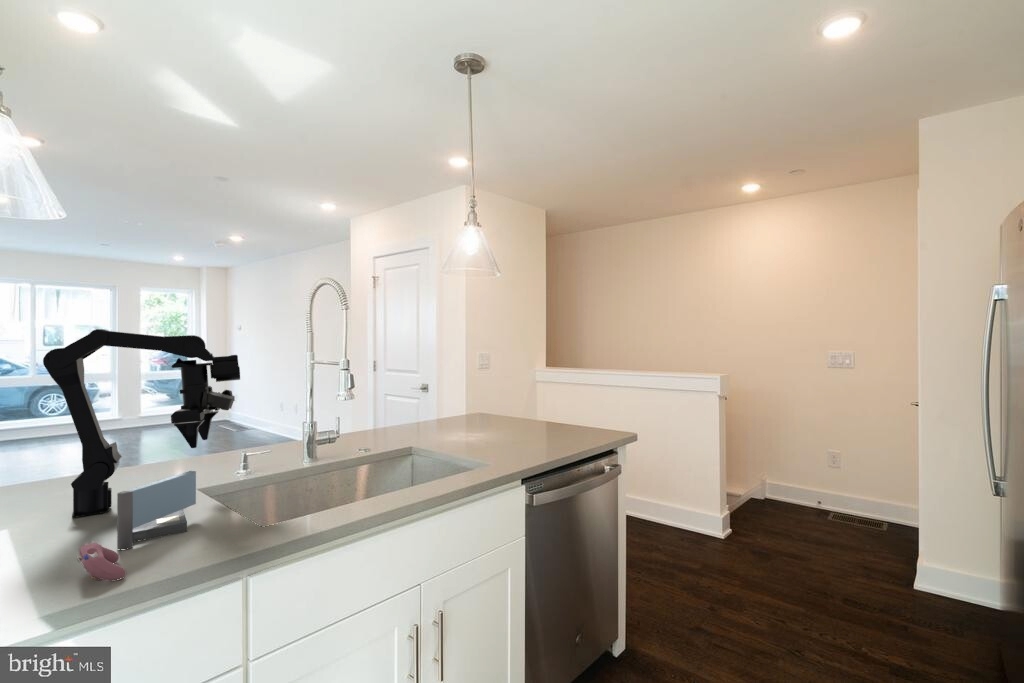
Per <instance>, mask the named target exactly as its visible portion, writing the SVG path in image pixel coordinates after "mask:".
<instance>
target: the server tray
mask: <svg viewBox="0 0 1024 683" xmlns="http://www.w3.org/2000/svg"><path fill="white" fill-rule="evenodd" d="M184 510H185V509H182V510H179V511H177V512H174V513H171V514H169V515H166V516H164V517H161V518H159V519H156V520H154V521H151V522H149V523H146V524H143V525H141V526H138V527H136V528H133V541H136V542H139V541H138V540H141V541H145V540H144V539H146V540H150V538H151V539H157V538H162V537H166V536H167V537H168V536H170V535H171V536H172V535H176V534H181V533H187V532H188V520H187V517H186V514H185V511H184ZM161 536H162V537H161ZM156 537H157V538H156Z"/></svg>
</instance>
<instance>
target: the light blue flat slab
mask: <svg viewBox="0 0 1024 683" xmlns="http://www.w3.org/2000/svg"><path fill="white" fill-rule="evenodd" d="M116 499H117V500H116V501H117V504H116V505H117V506H116V507H117V508H116V510H117V515H116V516H117V517H116V518H117V519H116V521H117V522H116V523H117V524H116V525H117V526H116V527H117V531H116V532H117V537H116V540H117V541H116V548H117V549H120V550H119V551H122V550H121V549H126V550H128V549H127V548H130V547H132V546H134V544H133V543H134V542H133V528H136V527H138V526H141V525H143V524H146V523H149V522H151V521H154V520H156V519H159V518H161V517H164V516H166V515H169V514H171V513H174V512H177V511H179V510H182V509H183V510H185V509H186V508H189V507H191V506H194V505H196V504H197V470H195V471H194V470H189V471H188V470H187V471H186V472H182V473H179V474H176V475H173V476H168V477H166V478H163V479H159V480H157V481H153V482H150V483H147V484H144V485H140V486H138V487H134V488H131V489H127V490H122V491H119V492H117V494H116ZM132 548H133V547H132ZM130 549H131V548H130Z"/></svg>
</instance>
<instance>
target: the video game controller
mask: <svg viewBox="0 0 1024 683" xmlns="http://www.w3.org/2000/svg"><path fill="white" fill-rule="evenodd" d="M78 551H79V556H77V560H78V561H79V562H80V563H82V566H83V569H84V570H85V571H86V573H88V574H89V576H90V578H91V579H94V580H96V581H97V580H98V579H99V580H103V581H108V582H113V581H112V580H117V579H120V578H123V577H124V578H125V577H126V574H127V572H126V569H125V568H124V567H122V566H121V565H118V564H116V563H118V561H119V560H120V555H119V554H118V552H117V551H115V550H112V549H109V548H107V547H104V546H102V544H100V543H98V542H94V540H92V541H91V542H90V543H85V544H84V545H81V547H80V548H78ZM115 562H116V563H115ZM113 563H114V564H113ZM124 578H123V579H124ZM99 580H98V581H99Z"/></svg>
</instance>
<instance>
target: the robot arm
mask: <svg viewBox="0 0 1024 683" xmlns="http://www.w3.org/2000/svg"><path fill="white" fill-rule="evenodd" d="M105 346H106V347H117V348H127V349H139V350H148V351H157V352H158V351H160V352H165V353H168V354H172V355H175V356H180V357H184V358H188V360H183V359H182V358H180V357H178V358H177V359H176V361H175V362H174V363H173V364H171V366H170V367H171V368H172V369H177V368H179V369H180V376H181V389H179V394H180V395H182V401H183V402H182V403H183V404H182V405H180V409H178V410H176V411H174V412H173V413H172V414H171V415H170V421H171V422H170V423H171V424H173V426H174V427H175V428H177V430H178V431H179V432H180V434H181V435H182V436H183V438H184V440H185V441H186V443H187V444H188V445H189V447H190V449H196V448H197V446H198V438H199V436H200V438H201V439H202V441H207V440H208V438H209V435H210V429H211V425H212V421H213V419H214V417H215V416H216V415H217V414H218V413H219V412H220V410H222V411H229V410H230V409H232V407H233V404H234V402H235V396H236V395H233V391H232V390H231V389H230V390H229V389H224V390H223V391H222V392H215V391H213V387H212V386H211V385H209V378H208V377H209V376H208V366H209V369H210V379H213V380H215V382H216V383H217V382H218V383H219V382H229V381H240V380H241V370H240V365H239V359H238V357H239V356H238V355H237V354H230V355H223V356H214V355H213V352H212V353H211V352H210V351H209V350H208V349H207V348H206V342H205V340H204V339H203V338H202V337H201V336H199V335H196V334H195V335H194V334H192V335H191V334H188V335H174V336H173V335H169V336H167V335H166V336H165V335H164V336H161V335H152V334H151V335H150V334H144V333H143V334H142V333H131V332H123V331H121V332H120V331H113V330H109V329H108V330H107V329H102V328H99V329H94V330H91V332H89V333H88V334H87V335H85V336H83V337H81V338H80V339H77V340H76V341H74V342H72V343H70V344H68V345H67V346H65V347H61V348H60V347H59V348H54V349H51V350H49V351H48V352H47V353H46V354H45V355H44V357H43V359H42V364H43V366H44V368H45V370H46V371H47V372H48V374H49V376H50V378H51V379H52V380H53V381H54V382H55V383H56V384H57V386H58V387H59V388H60V389H61V392H62V394H63V397H64V399H65V402H66V405H67V407H68V411H69V414H70V415H71V418H72V421H73V424H74V427H75V431H76V433H77V435H78V437H79V441H80V443H81V448H82V449H81V450H82V451H81V456H82V457H81V462H82V470H83V471H82V472H81V473H79V475H78V476H77V477H76V478H75V479H73V481H72V482H71V483H70V486H71V487H72V490H73V492H72V501H73V502H72V508H73V509H72V514H71V518H80V517H86V516H93V515H98V514H104V513H105V514H106V513H108V512H109V510H110V508H111V507H112V504H113V503H112V500H113V499H112V498H113V495H112V494H113V492H112V487H109V481H107V480H108V479H110V478H111V477H112V476H113V475H114V473H115V472H116V470H117V469H118V467H119V465H120V460H121V458H122V457H123V456H122V455H121V454H120V452H119V451H118V444H117V442H116V441H115V442H112V443H110V444H109V442H108V440H106V439H105V437H104V434H103V432H102V429H101V426H100V423H99V421H98V418H97V415H96V413H95V409H94V406H93V403H92V401H91V398H90V395H89V393H88V390H87V387H86V384H85V365H84V360H85V359H87V358H88V357H89V356H91V355H92V354H94V353H96V352H97V351H98V350H100V349H102V348H103V347H105ZM195 358H197V359H199V360H202V361H204V362H201V363H198V362H197V360H196V359H195ZM92 514H93V515H92Z"/></svg>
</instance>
